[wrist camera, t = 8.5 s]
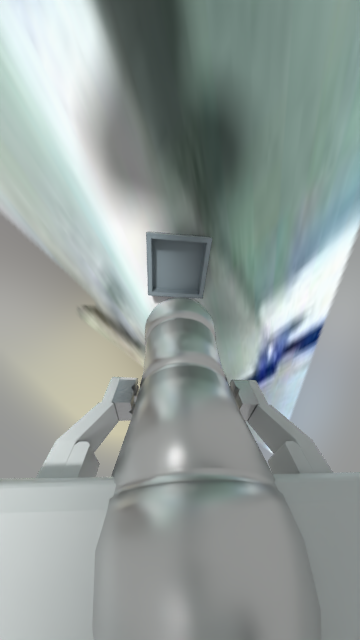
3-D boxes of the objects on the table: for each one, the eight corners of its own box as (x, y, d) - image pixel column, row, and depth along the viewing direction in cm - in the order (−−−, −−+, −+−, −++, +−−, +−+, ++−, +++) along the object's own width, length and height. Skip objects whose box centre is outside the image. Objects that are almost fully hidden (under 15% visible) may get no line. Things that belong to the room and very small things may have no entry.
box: (148, 231, 36) (146, 232, 33) (208, 236, 37) (212, 238, 33) (150, 289, 43) (148, 295, 40) (200, 292, 44) (202, 298, 41)
